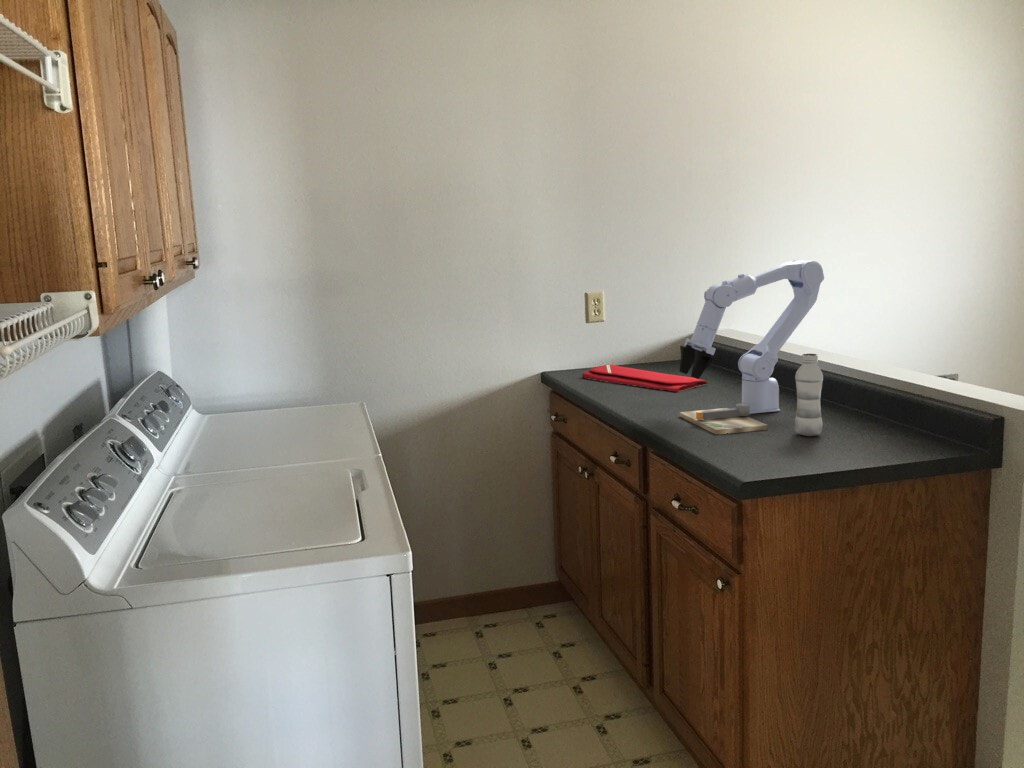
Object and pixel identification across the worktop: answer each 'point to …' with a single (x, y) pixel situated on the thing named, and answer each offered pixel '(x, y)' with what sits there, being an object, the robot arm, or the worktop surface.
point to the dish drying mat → (642, 378)
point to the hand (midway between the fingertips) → (688, 375)
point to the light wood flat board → (725, 423)
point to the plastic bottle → (808, 396)
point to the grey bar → (725, 412)
